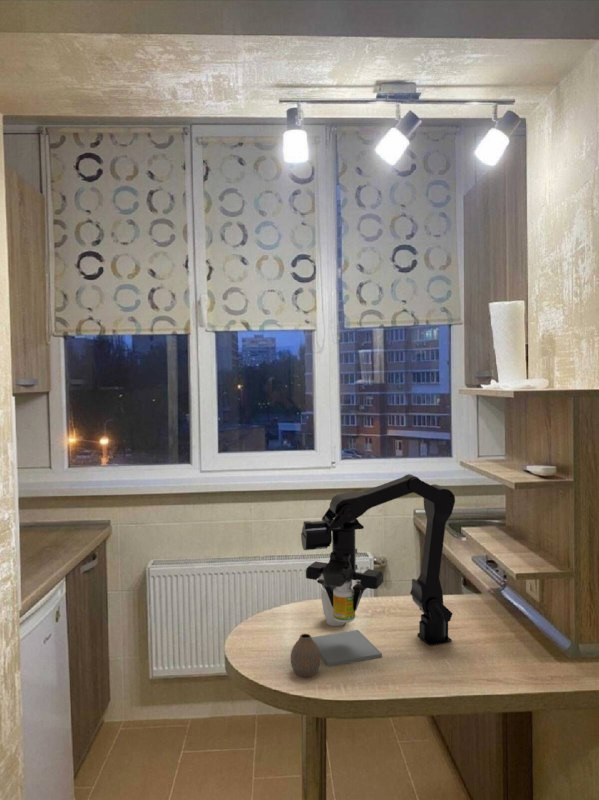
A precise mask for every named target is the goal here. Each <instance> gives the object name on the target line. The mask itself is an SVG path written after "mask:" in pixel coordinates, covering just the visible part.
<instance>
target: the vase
mask: <svg viewBox="0 0 599 800" xmlns="http://www.w3.org/2000/svg"><path fill="white" fill-rule="evenodd" d="M311 637H312V636H311V634H309V633H302V634H300V636H299V638H298V640H297V641H295V643H294V645H292V646H293V647H292V648H291V652H290V665H291V668H292V670H293V671H294V673H295V674H296V675H297V676H299V677H301V678H309V677H312V676H314V675H315V674H316V673H317V672H318V671H319V668H320V667H321V659H322V658H321V656H320V651H319V648H318V646H317V645H316V643H315V642H314V641H313V640H312V638H311Z"/></svg>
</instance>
